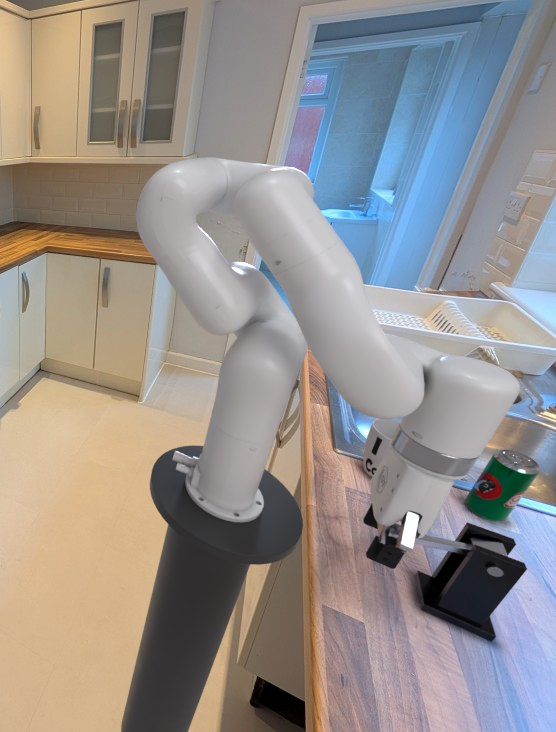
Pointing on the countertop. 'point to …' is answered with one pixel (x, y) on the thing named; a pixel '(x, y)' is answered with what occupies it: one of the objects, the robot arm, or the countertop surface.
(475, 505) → the soda can
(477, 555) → the bracket
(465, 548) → the tap lever
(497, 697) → the countertop surface
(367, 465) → the cup
